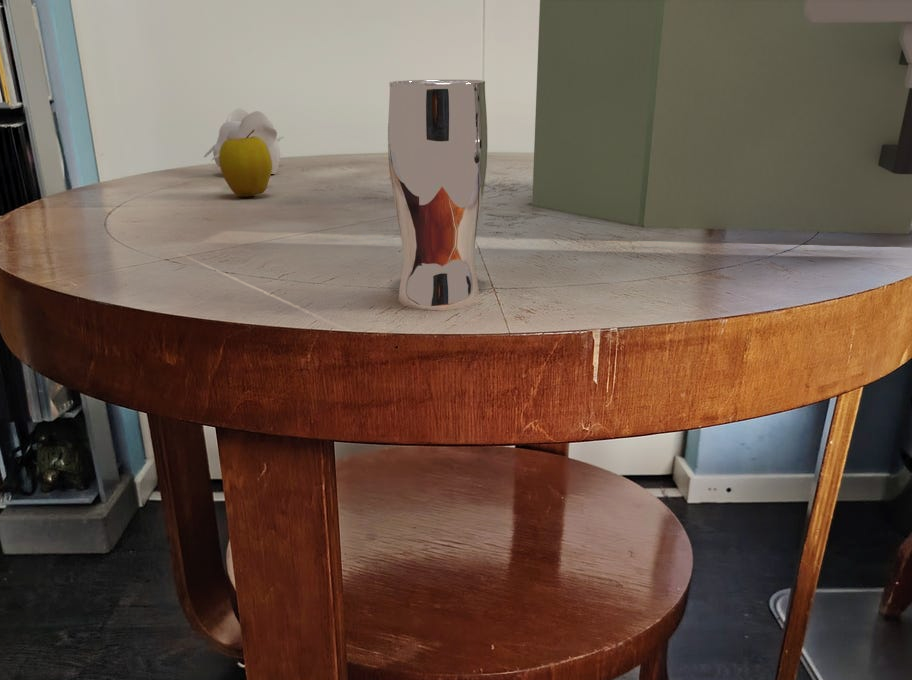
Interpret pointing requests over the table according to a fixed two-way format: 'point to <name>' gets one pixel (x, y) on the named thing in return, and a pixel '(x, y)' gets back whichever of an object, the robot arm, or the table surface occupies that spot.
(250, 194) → the apple
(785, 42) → the door
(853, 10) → the robot arm
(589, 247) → the table surface
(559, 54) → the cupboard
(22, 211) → the table surface
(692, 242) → the table surface
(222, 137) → the elephant figurine
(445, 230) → the beer glass
